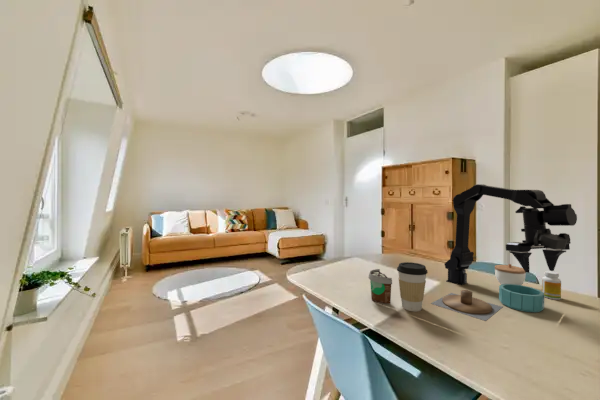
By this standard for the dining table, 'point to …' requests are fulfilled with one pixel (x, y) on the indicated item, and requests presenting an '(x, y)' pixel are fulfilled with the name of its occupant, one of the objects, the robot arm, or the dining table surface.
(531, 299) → the bowl
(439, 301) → the mat
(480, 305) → the lid
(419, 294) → the coffee cup
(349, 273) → the dining table surface
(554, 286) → the supplement bottle
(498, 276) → the lidded jar
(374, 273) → the food container
